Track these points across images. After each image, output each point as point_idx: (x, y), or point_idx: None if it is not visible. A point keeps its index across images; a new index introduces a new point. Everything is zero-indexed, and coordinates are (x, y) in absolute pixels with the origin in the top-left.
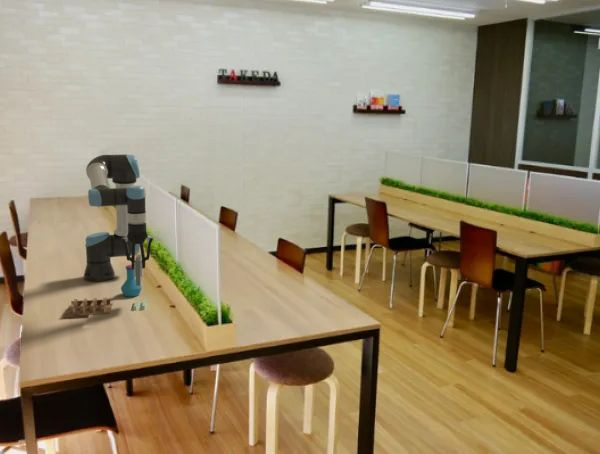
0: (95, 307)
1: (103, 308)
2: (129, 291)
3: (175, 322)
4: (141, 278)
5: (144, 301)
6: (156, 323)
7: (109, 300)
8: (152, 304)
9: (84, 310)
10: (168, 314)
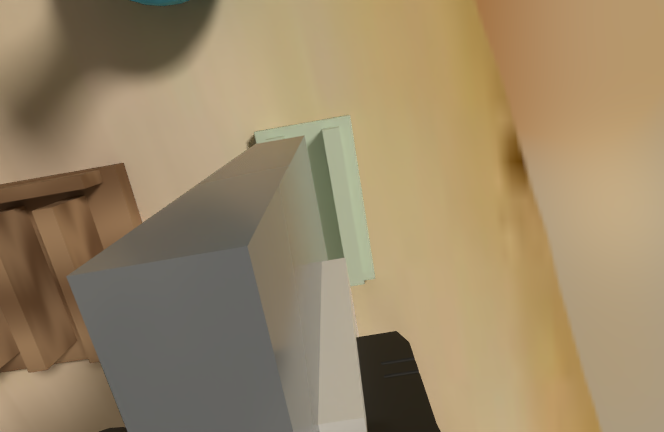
0: (44, 272)
1: None
2: (164, 4)
3: (552, 413)
4: (319, 225)
5: (342, 190)
6: (457, 426)
7: (84, 188)
8: (381, 125)
9: (4, 320)
10: (507, 305)
